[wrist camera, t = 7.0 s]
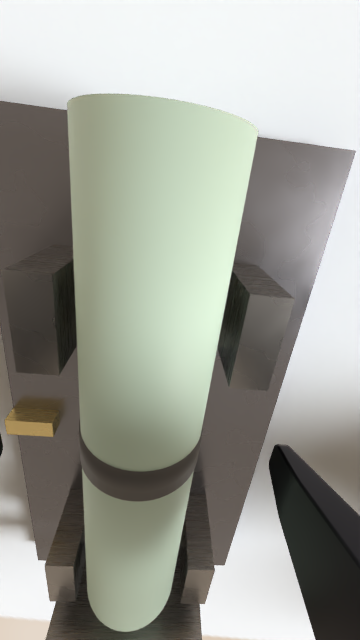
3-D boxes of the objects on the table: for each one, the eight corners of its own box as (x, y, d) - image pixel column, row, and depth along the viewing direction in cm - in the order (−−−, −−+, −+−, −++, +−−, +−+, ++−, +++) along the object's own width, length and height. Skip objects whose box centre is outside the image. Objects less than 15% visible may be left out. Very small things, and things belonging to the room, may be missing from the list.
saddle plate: (339, 154, 10) (534, 115, 5) (222, 548, 20) (241, 683, 15) (-17, 105, 9) (-283, -14, 4) (44, 542, 19) (-6, 683, 14)
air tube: (240, 148, 8) (289, 114, 4) (175, 529, 16) (172, 636, 12) (96, 129, 8) (22, 77, 4) (99, 523, 15) (72, 630, 12)
